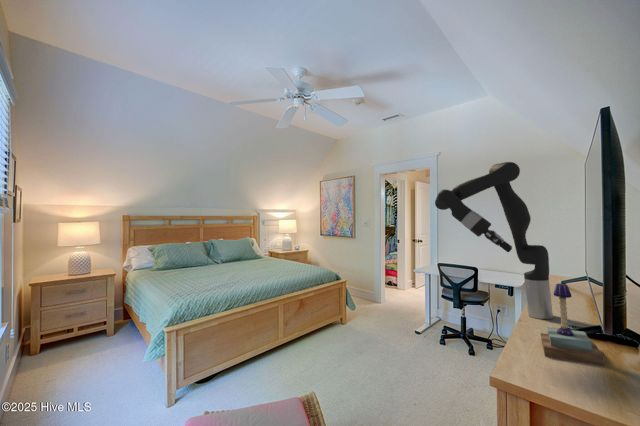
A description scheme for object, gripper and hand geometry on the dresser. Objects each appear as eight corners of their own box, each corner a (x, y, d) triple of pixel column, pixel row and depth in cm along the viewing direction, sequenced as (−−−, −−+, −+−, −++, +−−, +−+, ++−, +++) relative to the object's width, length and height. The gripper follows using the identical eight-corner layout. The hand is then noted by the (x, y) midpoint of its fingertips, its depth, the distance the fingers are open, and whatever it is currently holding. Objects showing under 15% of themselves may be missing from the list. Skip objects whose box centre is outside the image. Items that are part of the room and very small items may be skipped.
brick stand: (541, 341, 103) (539, 324, 103) (593, 348, 95) (591, 330, 95) (545, 356, 91) (543, 337, 92) (604, 366, 83) (601, 345, 84)
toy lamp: (568, 331, 96) (563, 282, 97) (580, 336, 91) (573, 285, 92) (553, 331, 96) (548, 283, 97) (564, 336, 92) (558, 285, 93)
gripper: (480, 216, 112) (518, 244, 105) (483, 217, 124) (517, 242, 117) (467, 230, 115) (502, 258, 108) (471, 229, 127) (503, 254, 119)
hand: (510, 249), depth 112 cm, fingers open, 8 cm apart
